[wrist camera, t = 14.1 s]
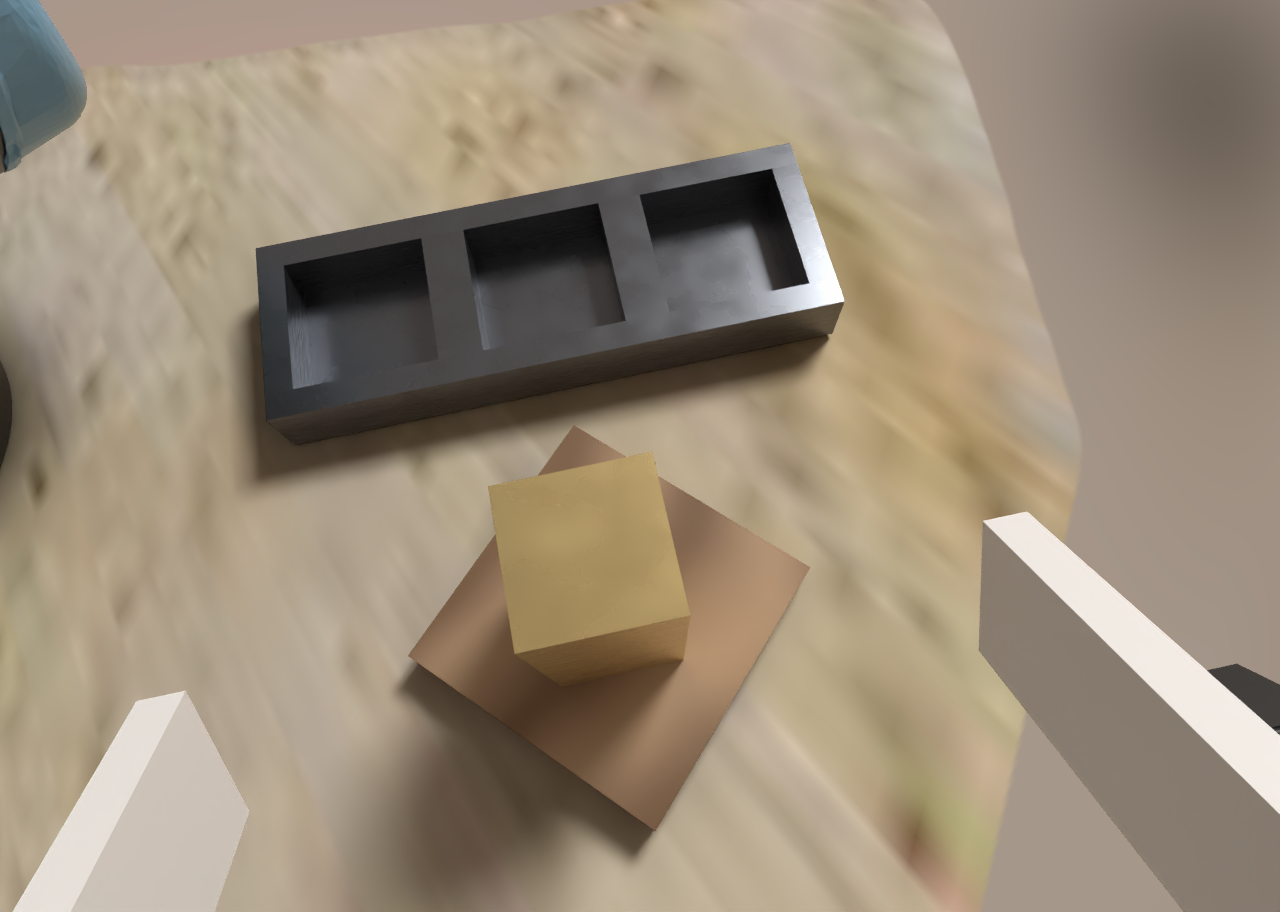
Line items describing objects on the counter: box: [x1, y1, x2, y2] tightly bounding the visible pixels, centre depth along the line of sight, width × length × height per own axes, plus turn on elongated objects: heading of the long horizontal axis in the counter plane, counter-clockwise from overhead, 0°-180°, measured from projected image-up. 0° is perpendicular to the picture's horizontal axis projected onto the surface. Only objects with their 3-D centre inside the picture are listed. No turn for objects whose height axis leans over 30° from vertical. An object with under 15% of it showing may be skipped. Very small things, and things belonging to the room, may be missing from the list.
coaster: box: [408, 426, 810, 831], centre depth 35 cm, size 12×12×2 cm
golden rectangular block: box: [488, 452, 690, 687], centre depth 29 cm, size 5×5×11 cm
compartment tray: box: [256, 143, 844, 445], centre depth 40 cm, size 26×9×3 cm, turn 102°
